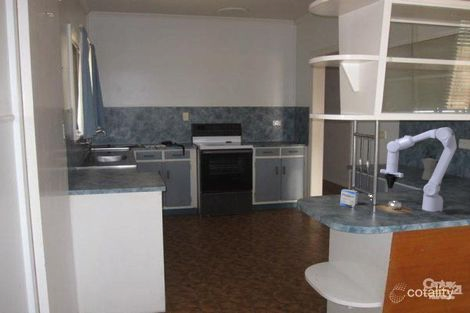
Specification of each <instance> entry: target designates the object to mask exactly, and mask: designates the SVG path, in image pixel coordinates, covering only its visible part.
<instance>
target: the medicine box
mask: <svg viewBox="0 0 470 313" xmlns="http://www.w3.org/2000/svg"><path fill="white" fill-rule="evenodd" d="M358 199H359V190H354V189H353V190H352V189H346V188H344V189H341V192H340V203H339V206H340V207H345V208H351V209H354V207H355V206H357V205H358Z"/></svg>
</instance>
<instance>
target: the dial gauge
mask: <svg viewBox="0 0 470 313" xmlns="http://www.w3.org/2000/svg"><path fill="white" fill-rule="evenodd" d="M370 194H371V193H369V194H367V195H368V196H367V197H368V198H369V206H371V207H372V205H373V206H374V204H373V196H372V195H370Z"/></svg>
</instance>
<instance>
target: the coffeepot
mask: <svg viewBox="0 0 470 313" xmlns="http://www.w3.org/2000/svg"><path fill="white" fill-rule="evenodd" d="M439 160H440V159H434V158H433V156H432V155H430V156H429V158H421V159H420V161H421V162H422V164H423V168H424V170H423V173H422V175H421V180H424V181H429V180H430V179H431V177H432V175H433V173H434V171H435V168H436V166H437V164H438V162H439Z"/></svg>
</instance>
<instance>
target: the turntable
mask: <svg viewBox="0 0 470 313" xmlns="http://www.w3.org/2000/svg"><path fill="white" fill-rule="evenodd" d="M388 205H389V203H380V204H377V205H375V208H376V209H379V210H380V211H384V212H387V213H394V214H411V213H414V210H413V208H410V207H407V206H405V205H401V210H392V209H389V208H388Z"/></svg>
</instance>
